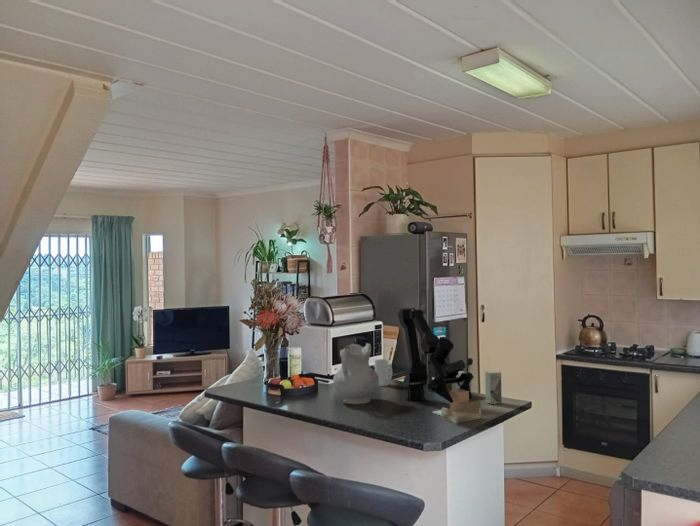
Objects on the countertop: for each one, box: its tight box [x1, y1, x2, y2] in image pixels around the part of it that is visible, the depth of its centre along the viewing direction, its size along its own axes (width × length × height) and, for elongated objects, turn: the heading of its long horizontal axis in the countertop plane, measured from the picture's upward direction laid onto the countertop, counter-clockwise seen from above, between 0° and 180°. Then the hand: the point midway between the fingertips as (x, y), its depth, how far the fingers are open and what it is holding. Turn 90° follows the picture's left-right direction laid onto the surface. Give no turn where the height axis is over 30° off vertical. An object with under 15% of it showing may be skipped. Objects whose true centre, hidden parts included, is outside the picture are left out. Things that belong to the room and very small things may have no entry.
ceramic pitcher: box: [332, 342, 379, 405], centre depth 232 cm, size 22×20×25 cm
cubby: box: [441, 400, 482, 424], centre depth 201 cm, size 8×12×6 cm, turn 120°
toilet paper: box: [446, 370, 472, 392], centre depth 239 cm, size 10×10×10 cm
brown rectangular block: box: [449, 389, 470, 410], centre depth 202 cm, size 5×5×10 cm
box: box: [484, 370, 503, 405], centre depth 223 cm, size 5×4×13 cm
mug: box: [374, 358, 393, 387], centre depth 265 cm, size 10×7×12 cm, turn 45°
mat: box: [431, 409, 442, 417], centre depth 209 cm, size 8×8×1 cm
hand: (461, 400), depth 201 cm, fingers open, 9 cm apart
